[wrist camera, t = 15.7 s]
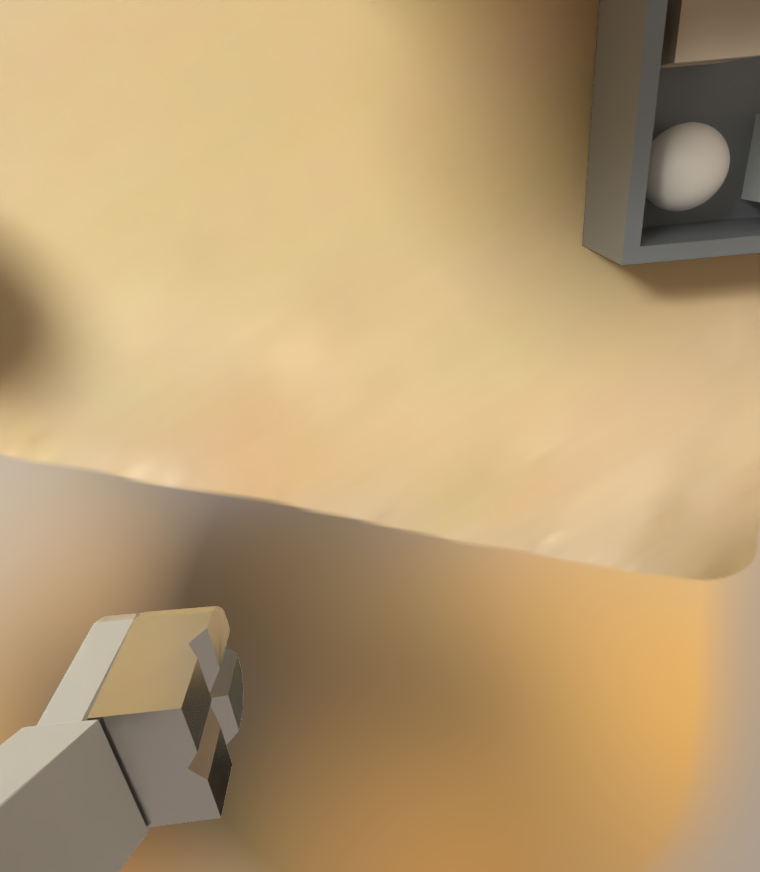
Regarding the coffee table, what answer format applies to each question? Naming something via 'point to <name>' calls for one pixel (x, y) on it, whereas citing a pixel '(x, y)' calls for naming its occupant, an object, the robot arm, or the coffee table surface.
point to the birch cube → (710, 32)
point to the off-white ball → (686, 166)
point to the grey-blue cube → (753, 167)
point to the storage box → (642, 122)
